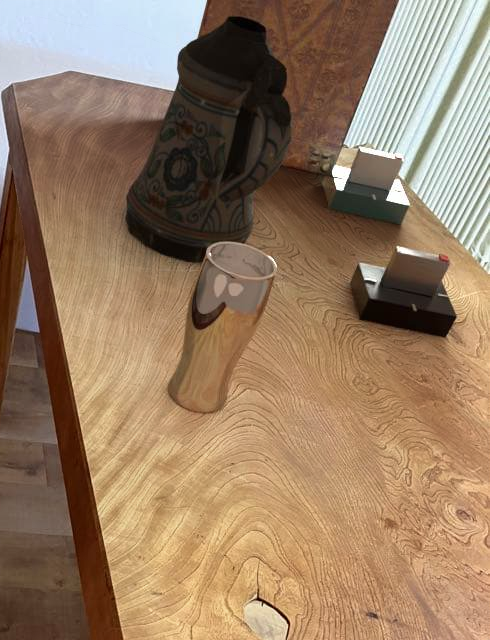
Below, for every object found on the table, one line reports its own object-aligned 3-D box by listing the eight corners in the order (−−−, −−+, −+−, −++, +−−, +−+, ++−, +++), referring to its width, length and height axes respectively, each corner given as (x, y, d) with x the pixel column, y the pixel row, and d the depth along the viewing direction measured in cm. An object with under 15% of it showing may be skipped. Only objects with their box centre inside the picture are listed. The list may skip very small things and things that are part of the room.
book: (172, 138, 138) (229, -92, 117) (176, 118, 145) (231, -104, 124) (331, 177, 139) (416, -45, 118) (328, 155, 145) (408, -59, 124)
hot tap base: (360, 323, 107) (370, 300, 105) (348, 280, 115) (358, 257, 113) (447, 341, 108) (459, 319, 106) (429, 297, 116) (440, 275, 114)
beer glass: (229, 382, 93) (277, 249, 83) (230, 422, 88) (281, 286, 78) (164, 368, 93) (204, 233, 82) (161, 407, 88) (204, 269, 77)
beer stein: (162, 191, 124) (213, -12, 106) (285, 249, 118) (360, 44, 100) (97, 224, 113) (142, 4, 95) (229, 290, 107) (302, 69, 90)
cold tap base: (329, 211, 129) (338, 190, 127) (321, 181, 137) (329, 160, 135) (402, 227, 130) (411, 206, 128) (389, 196, 138) (398, 176, 136)
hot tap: (382, 286, 109) (399, 250, 105) (380, 279, 110) (396, 244, 106) (433, 297, 109) (451, 261, 106) (430, 290, 110) (448, 255, 107)
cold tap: (348, 181, 131) (361, 149, 127) (347, 177, 132) (359, 144, 129) (391, 190, 131) (404, 158, 128) (389, 186, 132) (402, 154, 129)
